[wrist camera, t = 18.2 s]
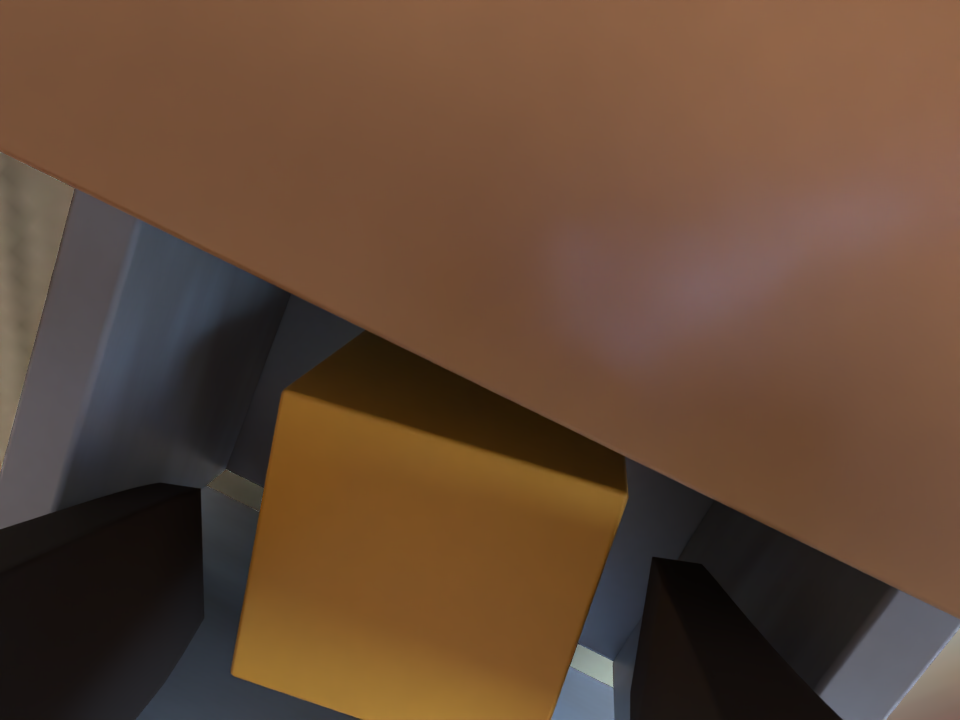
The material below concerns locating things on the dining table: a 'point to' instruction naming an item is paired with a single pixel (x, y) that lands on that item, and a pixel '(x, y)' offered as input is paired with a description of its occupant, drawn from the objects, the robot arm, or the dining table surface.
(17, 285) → the dining table surface
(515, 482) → the block
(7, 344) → the dining table surface
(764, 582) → the grey wooden drawer
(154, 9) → the wooden drawer box
